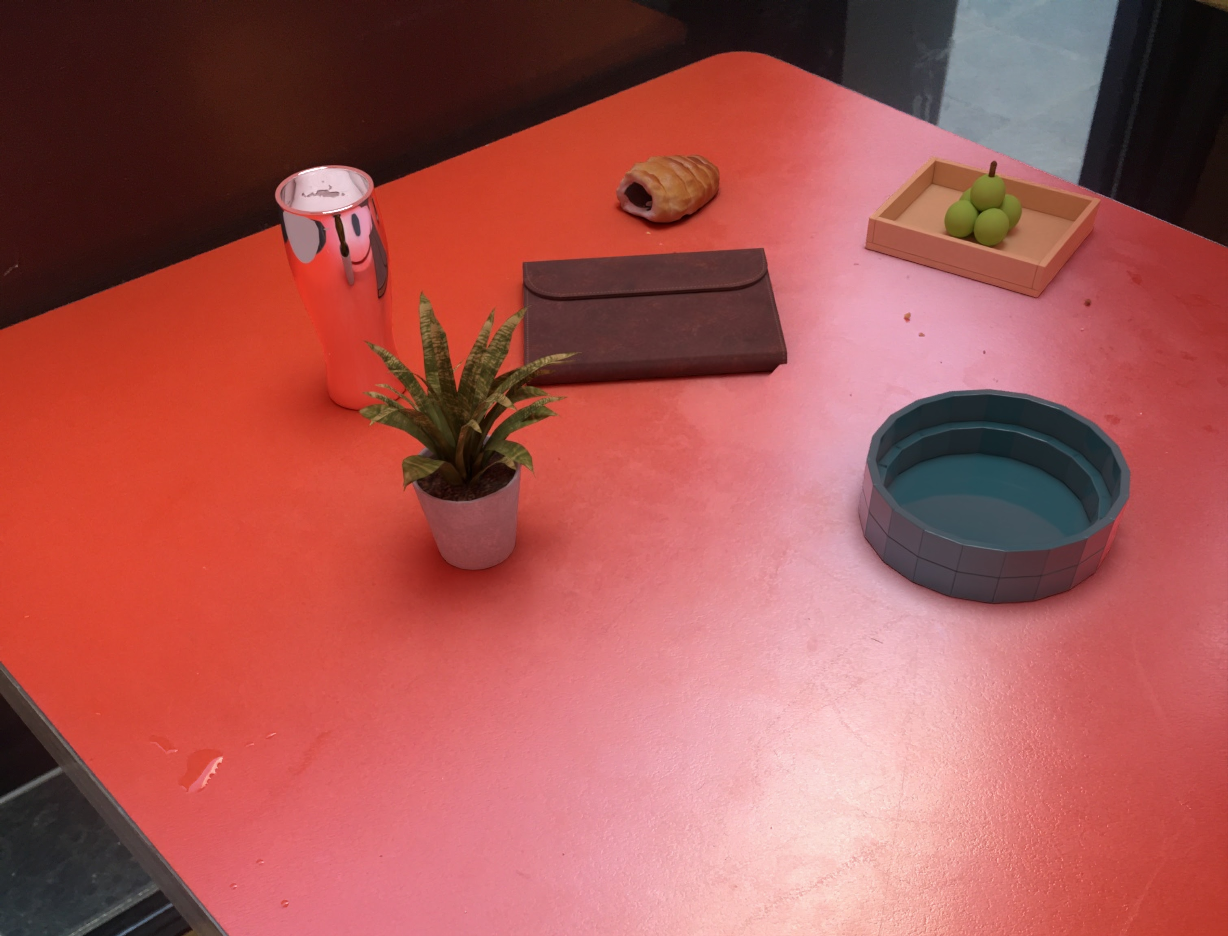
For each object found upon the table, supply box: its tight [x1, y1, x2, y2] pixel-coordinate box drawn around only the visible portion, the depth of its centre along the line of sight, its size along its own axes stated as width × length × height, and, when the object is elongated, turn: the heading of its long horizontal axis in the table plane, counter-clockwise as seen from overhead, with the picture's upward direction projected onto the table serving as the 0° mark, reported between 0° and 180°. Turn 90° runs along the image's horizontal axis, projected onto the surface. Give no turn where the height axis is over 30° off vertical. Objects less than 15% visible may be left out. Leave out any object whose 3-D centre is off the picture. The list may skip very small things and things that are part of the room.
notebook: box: [522, 247, 788, 386], centre depth 97 cm, size 15×20×2 cm
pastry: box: [615, 154, 721, 224], centre depth 107 cm, size 9×7×4 cm
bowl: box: [857, 388, 1132, 604], centre depth 80 cm, size 16×16×5 cm
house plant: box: [357, 289, 581, 571], centre depth 75 cm, size 14×14×16 cm
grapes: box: [944, 160, 1022, 246], centre depth 101 cm, size 5×5×6 cm
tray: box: [864, 155, 1102, 298], centre depth 102 cm, size 15×12×3 cm
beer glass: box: [274, 164, 407, 411], centre depth 88 cm, size 7×7×15 cm
